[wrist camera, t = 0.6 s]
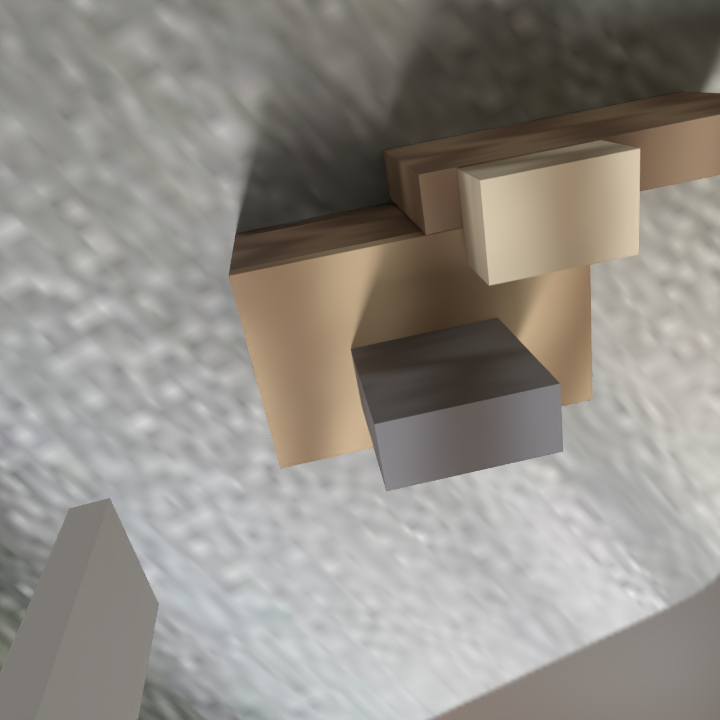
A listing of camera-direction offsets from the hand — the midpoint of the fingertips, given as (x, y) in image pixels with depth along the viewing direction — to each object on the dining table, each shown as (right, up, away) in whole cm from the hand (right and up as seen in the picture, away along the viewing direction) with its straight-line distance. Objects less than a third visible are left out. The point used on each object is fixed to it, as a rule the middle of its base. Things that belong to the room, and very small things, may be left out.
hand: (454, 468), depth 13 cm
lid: (+1, +3, +18) cm, 18 cm away
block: (+5, +9, +14) cm, 17 cm away
